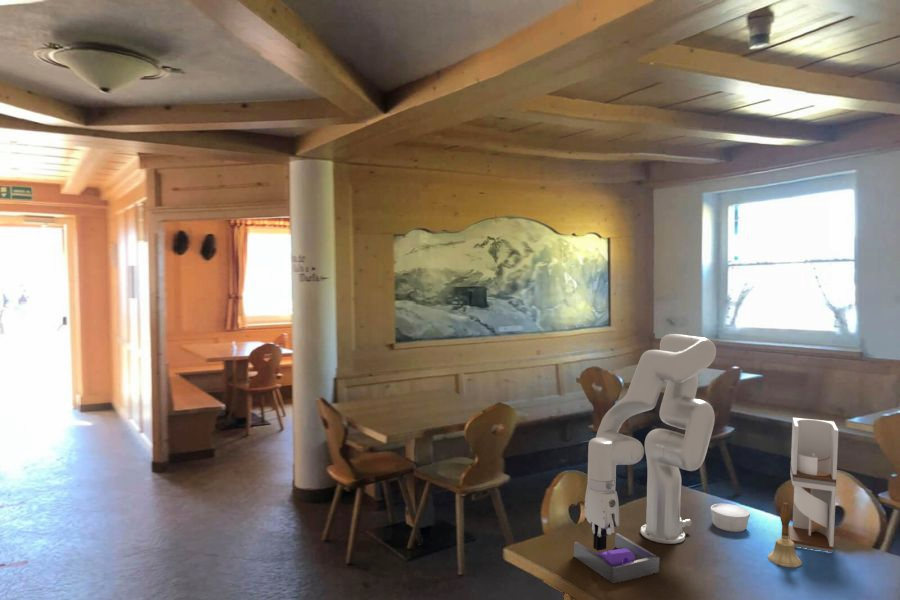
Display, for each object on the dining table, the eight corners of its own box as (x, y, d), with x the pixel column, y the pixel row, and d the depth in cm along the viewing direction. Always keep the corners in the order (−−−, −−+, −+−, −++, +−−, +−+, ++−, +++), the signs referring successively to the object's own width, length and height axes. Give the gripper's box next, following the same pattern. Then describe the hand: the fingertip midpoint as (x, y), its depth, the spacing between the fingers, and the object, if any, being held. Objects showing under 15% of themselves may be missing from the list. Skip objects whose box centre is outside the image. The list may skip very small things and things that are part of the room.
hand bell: (769, 564, 173) (771, 506, 173) (766, 551, 181) (768, 496, 180) (803, 570, 170) (806, 511, 169) (799, 556, 178) (802, 500, 177)
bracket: (634, 576, 166) (634, 551, 166) (610, 580, 164) (611, 554, 164) (609, 556, 178) (610, 532, 178) (587, 559, 176) (587, 535, 176)
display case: (788, 531, 195) (792, 417, 193) (828, 538, 190) (833, 421, 188) (790, 546, 184) (794, 426, 182) (833, 554, 180) (838, 430, 178)
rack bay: (617, 546, 183) (618, 532, 183) (658, 572, 168) (659, 557, 168) (574, 556, 177) (574, 541, 177) (612, 583, 162) (613, 567, 162)
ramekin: (714, 516, 207) (715, 500, 206) (752, 525, 200) (753, 508, 200) (705, 527, 197) (706, 510, 197) (745, 537, 191) (745, 519, 191)
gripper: (630, 490, 172) (628, 557, 173) (595, 473, 186) (594, 536, 187) (607, 494, 169) (605, 562, 170) (574, 477, 183) (572, 540, 184)
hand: (599, 548), depth 178 cm, fingers closed
